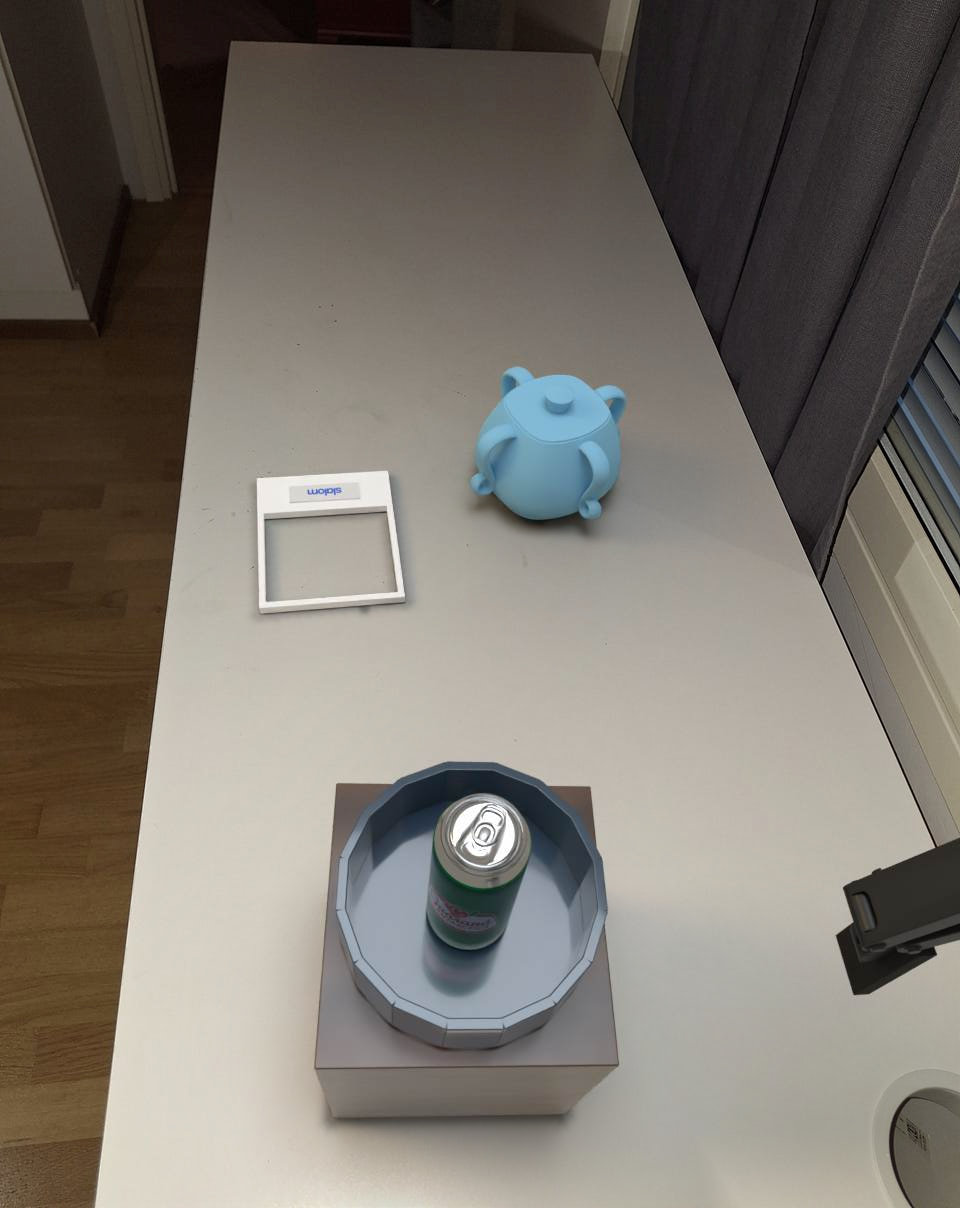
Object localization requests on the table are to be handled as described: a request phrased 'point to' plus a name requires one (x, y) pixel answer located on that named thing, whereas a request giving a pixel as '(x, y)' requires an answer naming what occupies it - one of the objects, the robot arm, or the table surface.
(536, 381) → the decorative pot
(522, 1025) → the bowl
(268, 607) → the photo frame
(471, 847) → the soda can
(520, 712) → the table surface
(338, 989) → the stand
